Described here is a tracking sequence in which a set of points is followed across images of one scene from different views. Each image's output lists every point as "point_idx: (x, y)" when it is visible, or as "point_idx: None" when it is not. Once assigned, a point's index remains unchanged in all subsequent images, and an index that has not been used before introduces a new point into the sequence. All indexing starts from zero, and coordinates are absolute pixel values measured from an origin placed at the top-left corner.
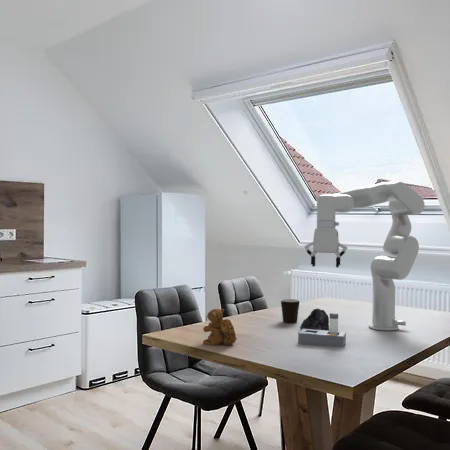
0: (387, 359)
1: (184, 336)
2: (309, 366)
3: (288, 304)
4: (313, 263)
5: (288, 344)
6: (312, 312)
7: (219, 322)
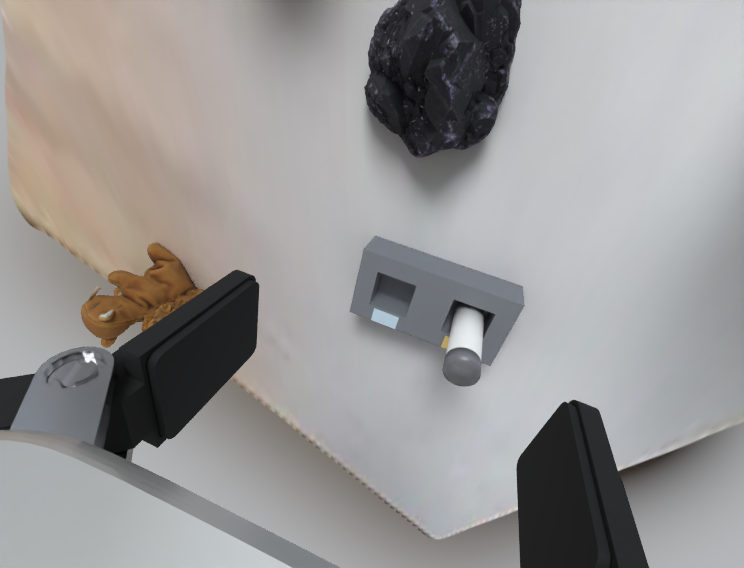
0: None
1: (83, 214)
2: (379, 457)
3: None
4: (226, 374)
5: (334, 303)
6: (408, 56)
7: (137, 321)
